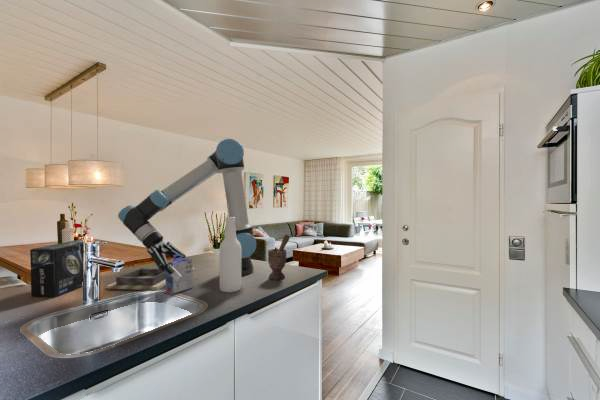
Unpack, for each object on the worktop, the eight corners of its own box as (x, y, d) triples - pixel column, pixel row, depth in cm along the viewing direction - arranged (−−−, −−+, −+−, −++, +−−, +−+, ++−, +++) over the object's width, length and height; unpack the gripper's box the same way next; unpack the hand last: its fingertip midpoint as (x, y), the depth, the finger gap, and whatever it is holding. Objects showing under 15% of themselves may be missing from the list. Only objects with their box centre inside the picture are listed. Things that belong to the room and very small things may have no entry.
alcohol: (227, 285, 127) (227, 216, 127) (245, 287, 124) (245, 216, 124) (215, 291, 119) (214, 217, 119) (233, 293, 116) (233, 218, 116)
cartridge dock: (180, 276, 141) (180, 268, 141) (157, 289, 121) (157, 279, 121) (137, 275, 143) (137, 267, 143) (106, 288, 123) (106, 278, 123)
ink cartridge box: (185, 285, 127) (185, 252, 127) (193, 287, 124) (193, 253, 124) (164, 291, 119) (164, 256, 118) (173, 294, 116) (173, 257, 116)
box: (55, 298, 112) (54, 248, 111) (29, 297, 112) (29, 248, 112) (99, 280, 135) (99, 239, 134) (78, 280, 135) (78, 239, 135)
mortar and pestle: (276, 273, 147) (276, 233, 147) (292, 275, 144) (291, 234, 144) (264, 279, 137) (264, 236, 136) (281, 281, 133) (281, 237, 133)
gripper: (159, 239, 134) (192, 273, 133) (124, 247, 111) (164, 290, 110) (170, 227, 134) (203, 262, 132) (138, 234, 110) (178, 276, 109)
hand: (186, 275), depth 121 cm, fingers closed on ink cartridge box, 11 cm apart
